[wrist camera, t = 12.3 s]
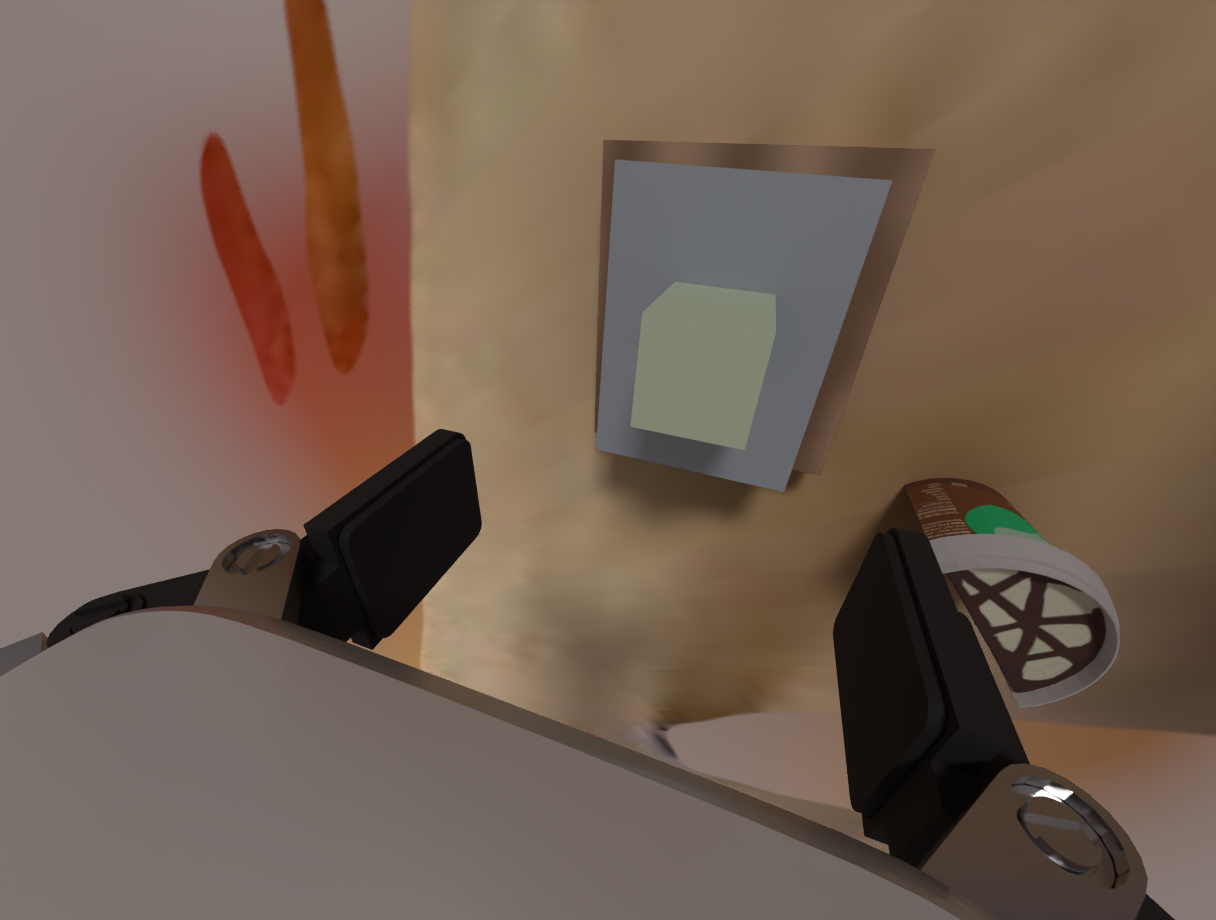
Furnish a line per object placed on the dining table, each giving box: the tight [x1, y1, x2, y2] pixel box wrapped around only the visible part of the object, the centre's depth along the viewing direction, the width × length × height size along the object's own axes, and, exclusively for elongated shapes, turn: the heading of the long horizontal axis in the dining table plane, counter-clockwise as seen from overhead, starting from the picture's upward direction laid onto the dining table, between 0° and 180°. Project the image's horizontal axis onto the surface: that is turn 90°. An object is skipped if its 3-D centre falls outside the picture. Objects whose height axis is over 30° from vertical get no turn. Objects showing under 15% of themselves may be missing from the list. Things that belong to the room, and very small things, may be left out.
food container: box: [905, 478, 1120, 708], centre depth 28 cm, size 12×6×10 cm, turn 38°
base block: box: [595, 140, 935, 475], centre depth 29 cm, size 16×18×4 cm
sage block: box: [630, 282, 776, 450], centre depth 21 cm, size 5×5×7 cm
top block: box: [596, 160, 892, 492], centre depth 26 cm, size 12×16×4 cm
